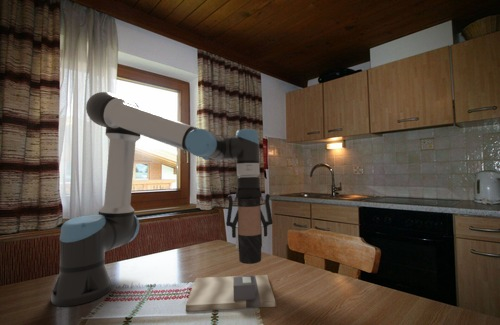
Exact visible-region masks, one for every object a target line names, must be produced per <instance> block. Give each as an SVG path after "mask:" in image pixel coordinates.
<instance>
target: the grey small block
mask: <svg viewBox="0 0 500 325" xmlns="http://www.w3.org/2000/svg"><path fill="white" fill-rule="evenodd" d="M246 276H247V277H234V284H233V287H234V301H241V300H256V294H255V281H254V276H253V275H246Z"/></svg>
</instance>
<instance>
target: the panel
mask: <svg viewBox="0 0 500 325" xmlns="http://www.w3.org/2000/svg"><path fill="white" fill-rule="evenodd" d="M247 276H248V275H233V276H232V275H231V276H209V277H207V276H206V277H196V278H195V280H194V283H193V286H192V288H191V291H190V293H189V296H188V299H187V301H186V303H185V312H193V311H198V312H199V311H209V310H210V311H212V310H213V311H216V310H231V309H232V310H233V309H234V310H235V309H251V308H252V309H254V307H256V308H271V307H272V308H273V307H276V299H275V296H274V293H273V289H272V287H271V283H270V281H269V280H270V279H269V278H268V275H267V274H257V275H252V276H254V281H255V294H256V300H241V301H234V287H233V284H234V277H247Z"/></svg>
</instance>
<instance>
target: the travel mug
mask: <svg viewBox="0 0 500 325" xmlns="http://www.w3.org/2000/svg"><path fill="white" fill-rule="evenodd" d="M261 207H262V206H261V197H260V198H257V199H238V198H237V210H238V222H237V226H238V258H239V260H238V261H239V262H240V263H242V264H246V265H253V264H258V263H260V262H261V261H262V247H261V226H262V221H261V214H260V209H261ZM261 210H262V209H261Z"/></svg>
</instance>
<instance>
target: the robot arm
mask: <svg viewBox="0 0 500 325" xmlns="http://www.w3.org/2000/svg"><path fill="white" fill-rule="evenodd" d="M85 110H86V113H87V116H88V117H89V119H90V120H91V121H92V122H93V123H94V124H96V125H99V126H101V127H104V128H105V136H106V137H107V139H109V143H108V145H109V146H108V154H107V157H108V158H107V169H106V178H105V180H106V182H105V190H104V192H105V193H104V204H103V206H102V207H101V208H99V209H98V214H88V215H87V214H86V215H84V216H82V215H81V216H77V217H73V218H71V219H68V220H66V221H65V222H64V223H63V224H62V225H61V226H60V235H59V274H58V276H57V277H56V281H55V284H54V286H53V289H52V291H51V297H50V298H51V300H50V301H51V304H52V305H53V306H56V307H72V306H77V305H78V306H79V305H83V304H86V303H89V302H93V301H95V300H98V299H100V298H101V297H104V296H105V295H107V293H109V291H110V290H111V278H110V276H109V273H108V271H107V268H106V265H105V263H106V262H105V258H106V255H105V253H106V252H108V251H112V250H113V249H116V248H119V247H124V246H125V245H127V244H128V243H130V242H132V241H133V240H135V238H136V237H137V236H138V235H139V231H140V220H139V218H138V217H137V216H136V214H135V209H134V208H133V206H132V205H131V202H132V200H131V199H132V189H133V178H134V176H133V175H134V165H135V152H136V142H137V141H139V140H141V136H143V137H147V138H149V139H152V140H155V141H157V142H160V143H164V144H166V145H168V146H172V147H175V148H177V149H180V150H183V151H186V152H188V153H189V154H192V155H193V156H195V157H199V158H202V159H203V160H204V161H218V160H219V161H221V160H223V161H224V160H236V176H238V177H237V179H236V187H237V188H236V192H235V194H233V193H232V194H229V195H228V194H227V195H228V196H227V199H228V206H227V207H228V208H227V216H226V227H231V236H232V239H235V249H236V250H239V245H238V209H237V210H236V213H235V216H234V218H233V221H231V220H232V212H233V205H234V201H235V200H236V199H237V200H238V199H257V198H260V199H261V197H262V200H263V201H264V205H265V206H264V207H265V211H266V212H265V213H266V218H267V220H266V219H265V216H264V214H263V211H262V209H260V214H261V224H262V225H261V249H264V248H265V237H267V236H268V227H269V226H272V225H273V222H274V221H273V217H272V216H273V215H272V211H271V205H270V198H271V197H270V196H271V195H270V194H269V193H262V191H261V179H260V177H259V176H260V174H261V173H260V142H259V141H260V140H259V132H258V131H257V130H256V129H252V128H250V129H249V128H243V129H238V130H237V131H236V132H235V136H231V137H230V136H229V137H228V136H226V137H225V136H224V137H223V136H221V137H220V136H218V135H216V134H214V133H213V132H211V131H209V130H208V129H207V130H206V129H205V128H198V127H195V126H192V125H190V124H187V123H184V122H181V121H178V120H176V119H173V118H169V117H165V116H163V115H160V114H157V113H154V112H152V111H148V110H146V109H144V108H143V107H142V106H140V105H139V104H138V103H136V102H134V101H130V100H128V99H126V98H123V97H121V96H118V95H116V94H114V93H111V92H108V91H101V92H97V93H95V94H93V95H91V96H90V97H89V98H88V100H87V102H86V105H85Z"/></svg>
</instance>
